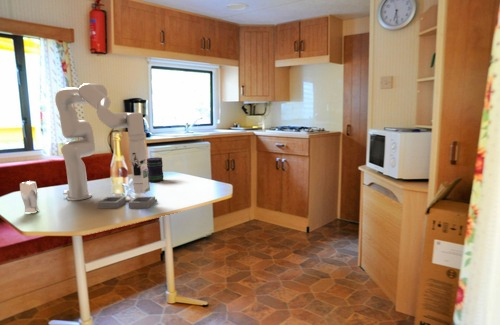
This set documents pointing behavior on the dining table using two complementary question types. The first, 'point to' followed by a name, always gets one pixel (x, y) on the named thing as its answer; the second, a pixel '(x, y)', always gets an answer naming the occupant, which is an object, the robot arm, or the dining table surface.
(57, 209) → the dining table surface
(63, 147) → the robot arm
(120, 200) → the panel
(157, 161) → the storage jar
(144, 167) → the syrup box
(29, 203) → the white vase
